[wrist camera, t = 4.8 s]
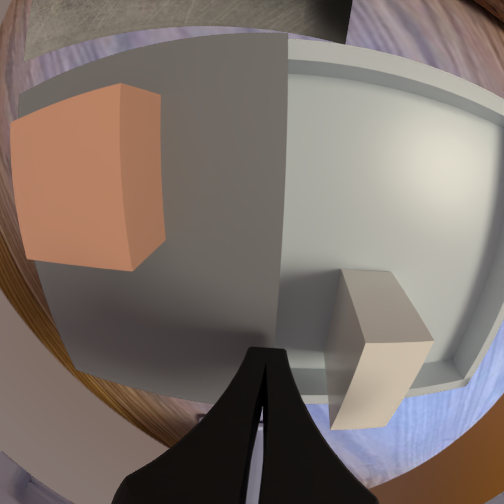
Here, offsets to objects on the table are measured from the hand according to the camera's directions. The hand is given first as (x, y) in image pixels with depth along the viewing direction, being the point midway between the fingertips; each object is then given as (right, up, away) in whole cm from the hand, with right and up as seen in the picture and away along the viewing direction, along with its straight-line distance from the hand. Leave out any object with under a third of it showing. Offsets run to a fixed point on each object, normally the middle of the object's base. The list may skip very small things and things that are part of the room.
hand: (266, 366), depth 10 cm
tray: (+7, +4, +2) cm, 9 cm away
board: (-5, +5, +3) cm, 8 cm away
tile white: (+3, 0, +1) cm, 3 cm away
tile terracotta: (-6, +7, -1) cm, 9 cm away
